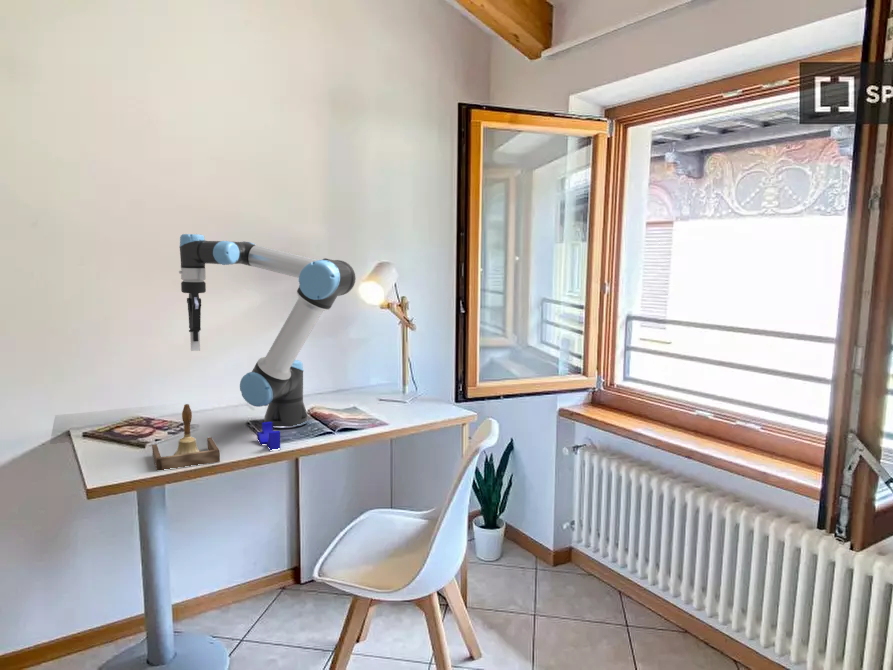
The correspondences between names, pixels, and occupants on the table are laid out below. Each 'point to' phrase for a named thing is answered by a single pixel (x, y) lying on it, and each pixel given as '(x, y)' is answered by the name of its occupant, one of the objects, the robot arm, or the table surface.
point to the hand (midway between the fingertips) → (195, 350)
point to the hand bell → (187, 434)
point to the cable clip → (269, 436)
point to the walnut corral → (187, 457)
